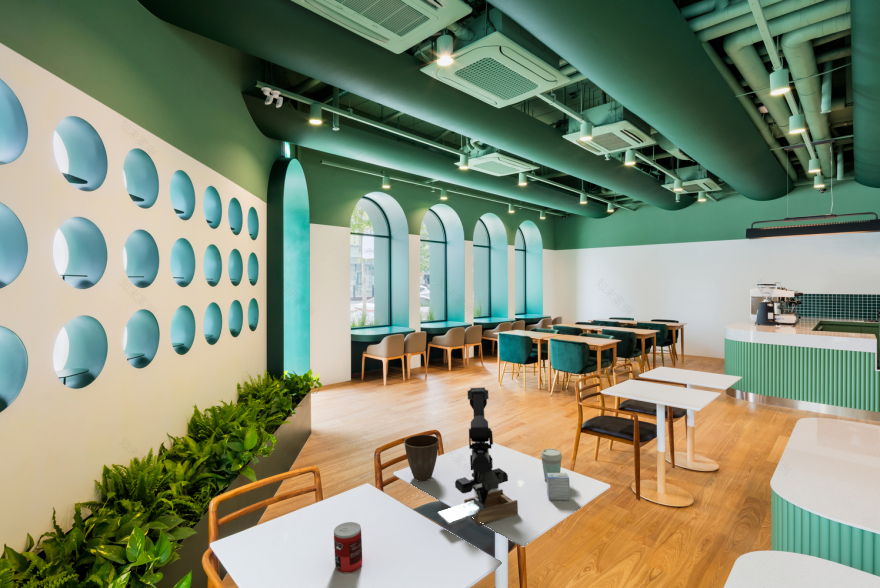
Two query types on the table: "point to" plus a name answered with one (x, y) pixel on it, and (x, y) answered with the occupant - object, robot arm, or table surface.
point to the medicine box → (558, 486)
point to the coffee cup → (551, 461)
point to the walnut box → (495, 508)
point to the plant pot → (422, 455)
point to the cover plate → (462, 511)
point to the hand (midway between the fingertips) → (482, 504)
